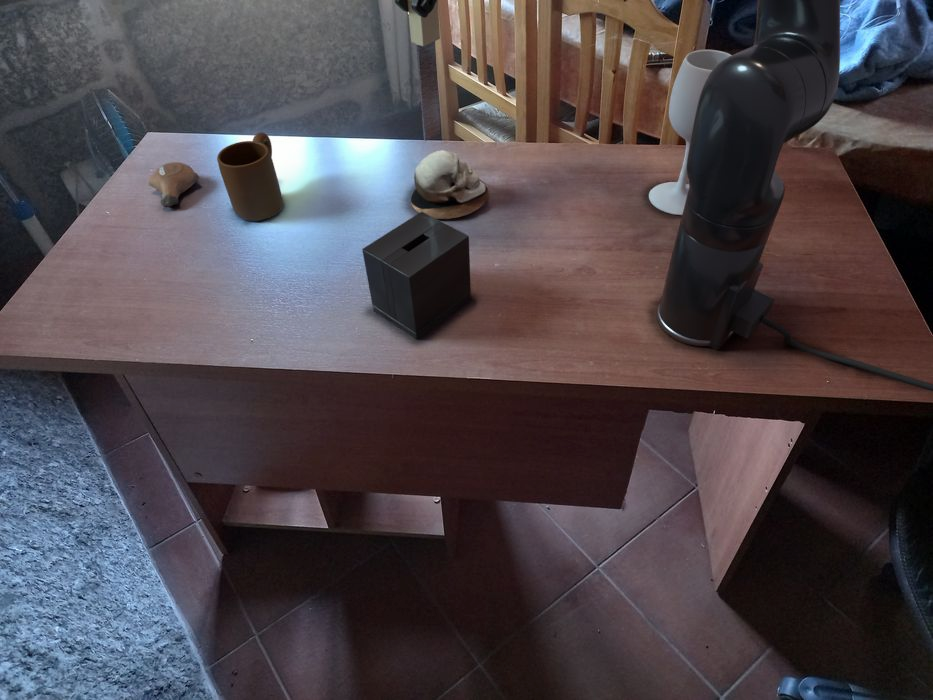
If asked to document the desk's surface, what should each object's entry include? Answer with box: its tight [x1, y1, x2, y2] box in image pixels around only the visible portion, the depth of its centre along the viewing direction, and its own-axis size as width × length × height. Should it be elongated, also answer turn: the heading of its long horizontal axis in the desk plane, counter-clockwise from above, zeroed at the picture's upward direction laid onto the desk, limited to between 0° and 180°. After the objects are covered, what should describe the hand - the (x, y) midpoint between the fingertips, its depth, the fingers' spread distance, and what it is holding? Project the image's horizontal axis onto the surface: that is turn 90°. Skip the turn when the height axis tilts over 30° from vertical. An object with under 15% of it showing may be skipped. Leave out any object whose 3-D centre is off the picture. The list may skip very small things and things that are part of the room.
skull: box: [410, 149, 489, 220], centre depth 100 cm, size 12×10×10 cm
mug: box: [216, 131, 284, 222], centre depth 99 cm, size 12×8×9 cm, turn 171°
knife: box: [408, 0, 441, 142], centre depth 77 cm, size 2×3×20 cm
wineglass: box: [648, 49, 733, 216], centre depth 92 cm, size 9×9×21 cm
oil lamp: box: [147, 161, 200, 208], centre depth 103 cm, size 9×4×8 cm
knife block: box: [361, 212, 472, 340], centre depth 81 cm, size 8×10×10 cm
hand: (410, 9), depth 72 cm, fingers closed on knife, 2 cm apart
